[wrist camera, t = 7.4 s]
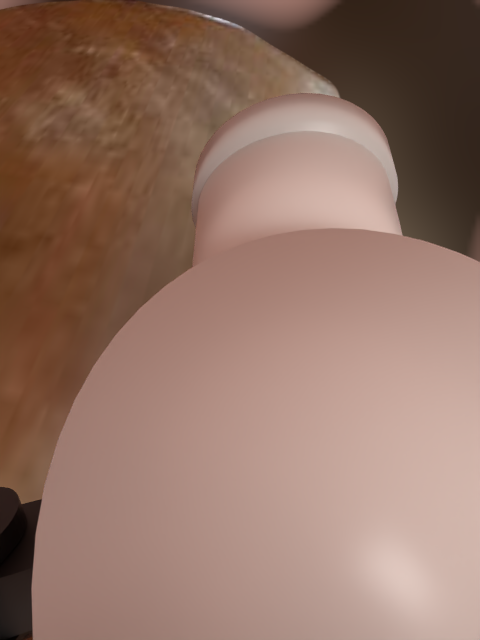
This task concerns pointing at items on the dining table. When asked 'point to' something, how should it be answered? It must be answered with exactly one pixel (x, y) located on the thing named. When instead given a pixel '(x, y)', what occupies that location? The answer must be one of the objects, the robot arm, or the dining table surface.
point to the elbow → (278, 415)
